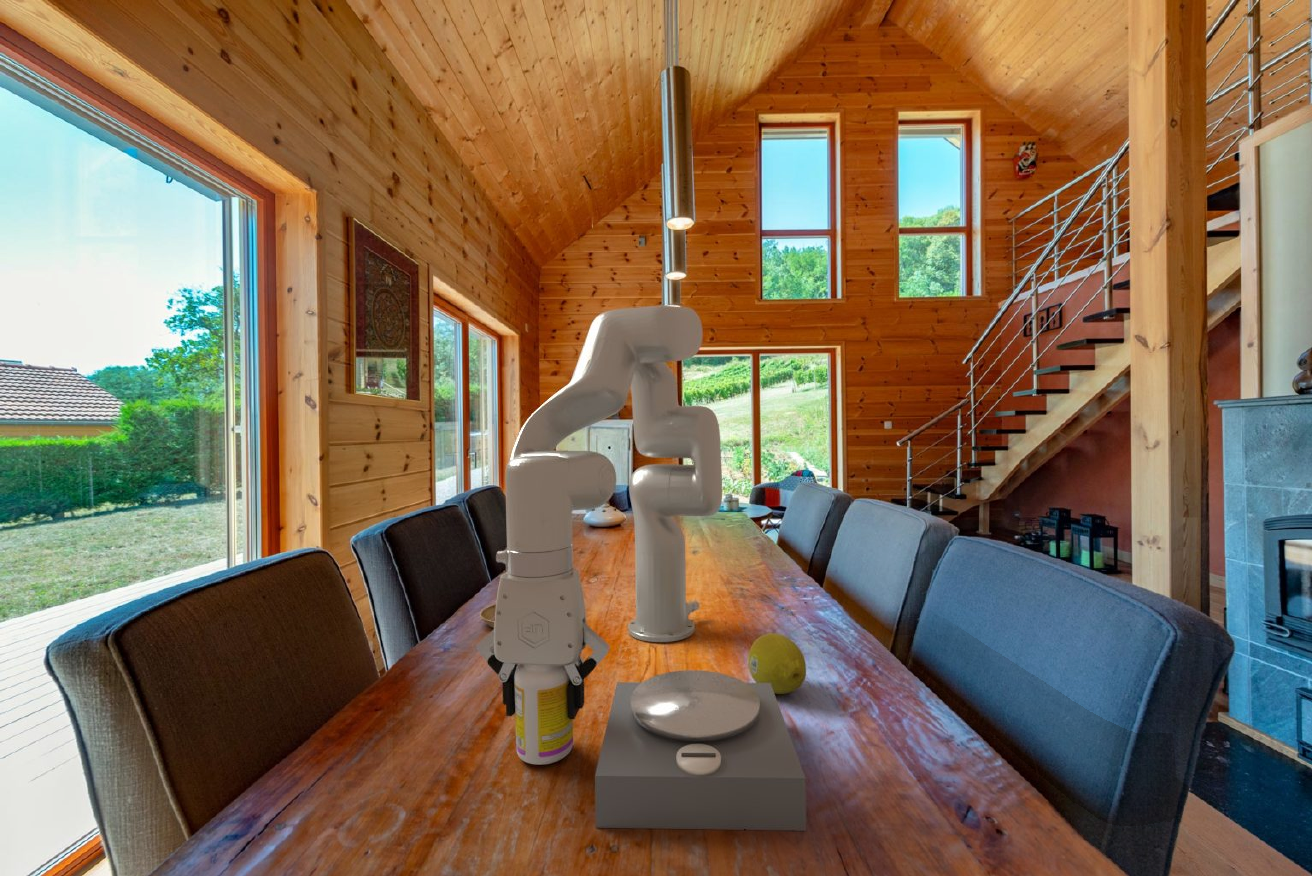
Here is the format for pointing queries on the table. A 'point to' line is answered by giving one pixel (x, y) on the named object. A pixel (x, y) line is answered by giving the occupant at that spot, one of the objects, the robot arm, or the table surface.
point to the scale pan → (695, 705)
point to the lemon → (777, 663)
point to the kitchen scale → (699, 775)
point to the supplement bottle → (542, 714)
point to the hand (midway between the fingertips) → (544, 710)
